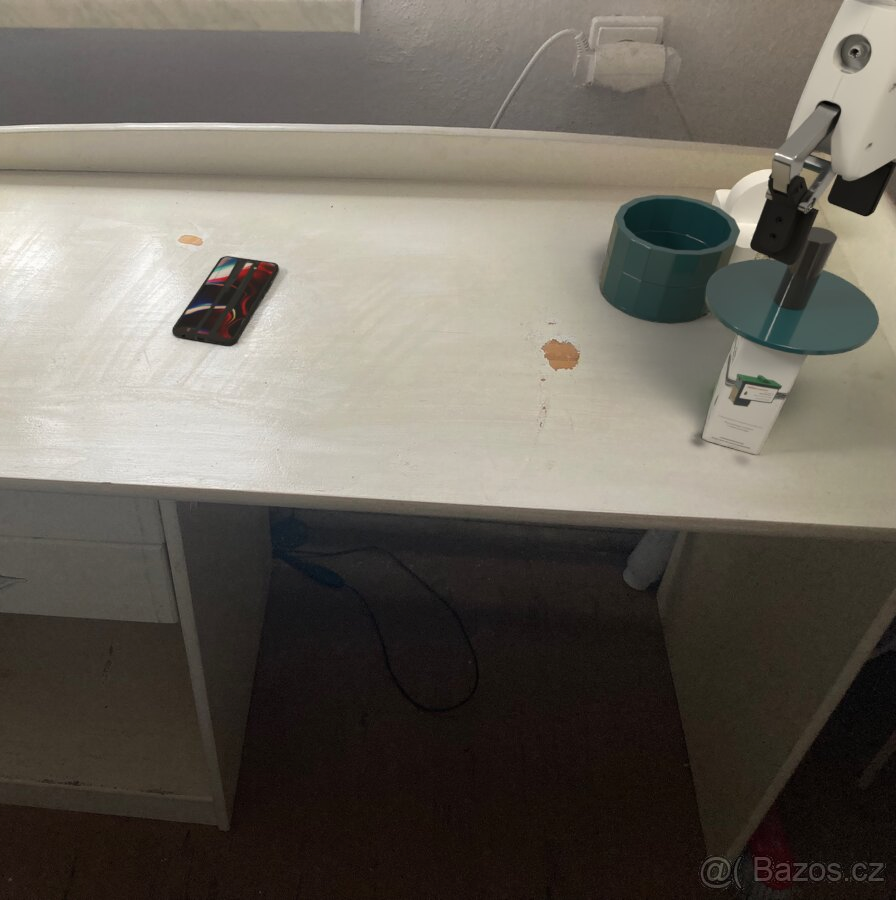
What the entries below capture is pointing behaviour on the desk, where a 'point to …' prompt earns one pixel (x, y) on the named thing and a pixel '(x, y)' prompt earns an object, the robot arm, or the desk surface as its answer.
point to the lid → (793, 302)
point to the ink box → (750, 395)
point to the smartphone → (226, 300)
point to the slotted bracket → (744, 210)
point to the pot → (665, 256)
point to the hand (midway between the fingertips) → (811, 231)
